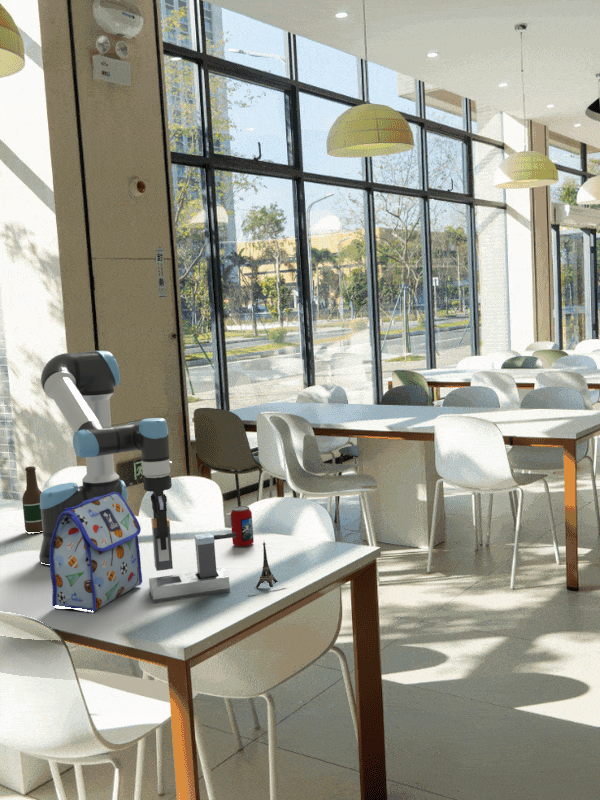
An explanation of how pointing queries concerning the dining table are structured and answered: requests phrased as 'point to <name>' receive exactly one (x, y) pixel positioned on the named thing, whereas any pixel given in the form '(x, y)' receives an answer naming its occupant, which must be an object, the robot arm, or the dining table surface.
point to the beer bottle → (32, 502)
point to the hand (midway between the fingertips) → (163, 557)
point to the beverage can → (242, 526)
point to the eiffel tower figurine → (266, 571)
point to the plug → (163, 564)
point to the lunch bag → (95, 553)
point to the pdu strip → (194, 575)
